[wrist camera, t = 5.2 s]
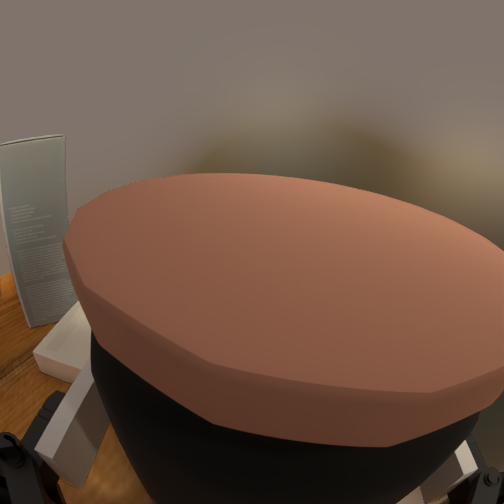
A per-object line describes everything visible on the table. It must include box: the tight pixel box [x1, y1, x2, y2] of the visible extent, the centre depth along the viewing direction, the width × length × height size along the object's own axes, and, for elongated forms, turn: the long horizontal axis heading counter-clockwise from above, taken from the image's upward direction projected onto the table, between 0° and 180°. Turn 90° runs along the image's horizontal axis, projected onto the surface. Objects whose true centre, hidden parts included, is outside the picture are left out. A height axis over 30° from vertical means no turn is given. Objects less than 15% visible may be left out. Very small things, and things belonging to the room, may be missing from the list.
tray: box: [33, 300, 91, 384], centre depth 27 cm, size 17×17×2 cm
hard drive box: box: [0, 134, 78, 328], centre depth 28 cm, size 16×8×20 cm, turn 39°
